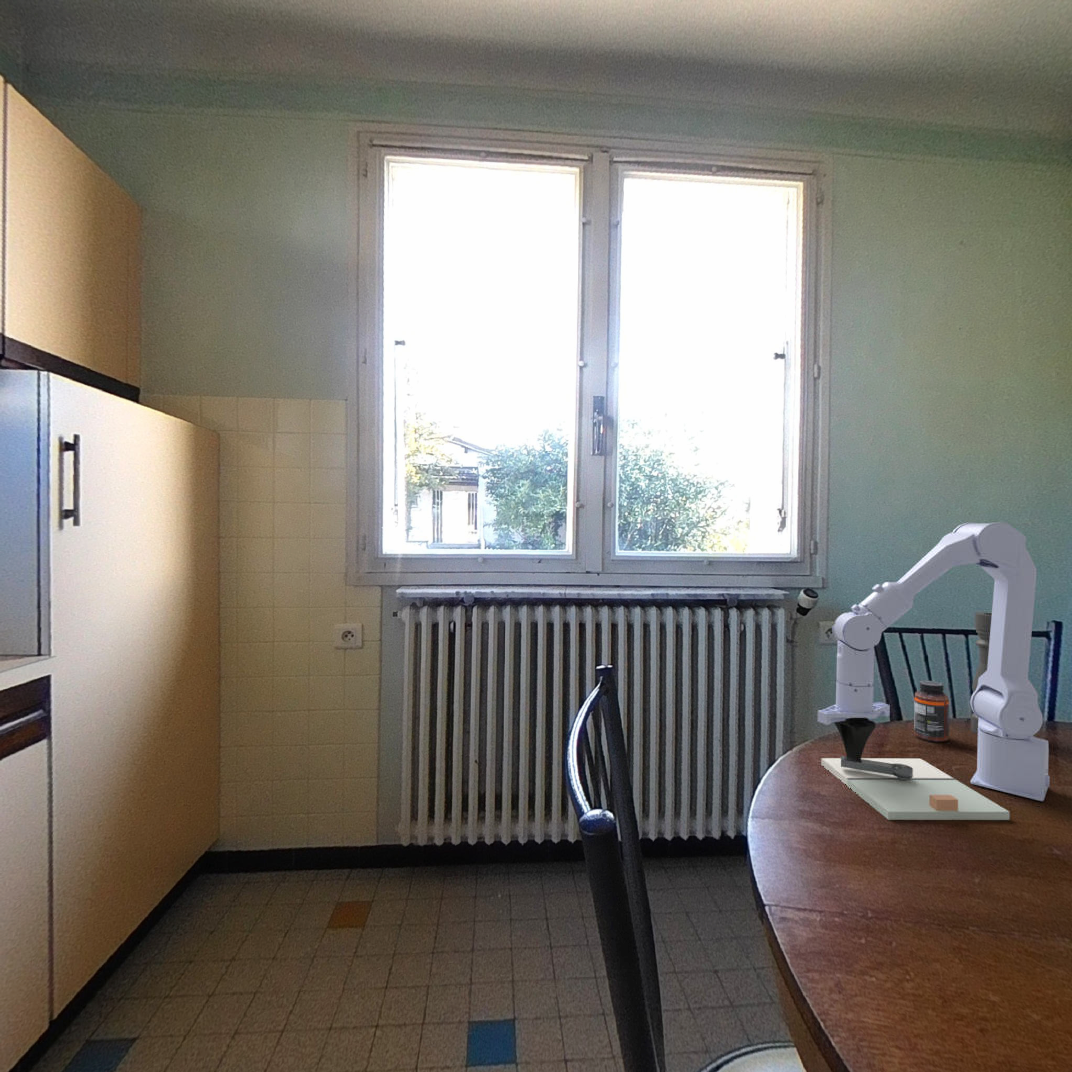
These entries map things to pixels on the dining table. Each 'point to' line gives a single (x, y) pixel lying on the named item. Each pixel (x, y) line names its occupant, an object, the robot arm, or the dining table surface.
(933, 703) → the supplement bottle
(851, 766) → the bar
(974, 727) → the candle holder
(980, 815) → the plate
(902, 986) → the dining table surface
